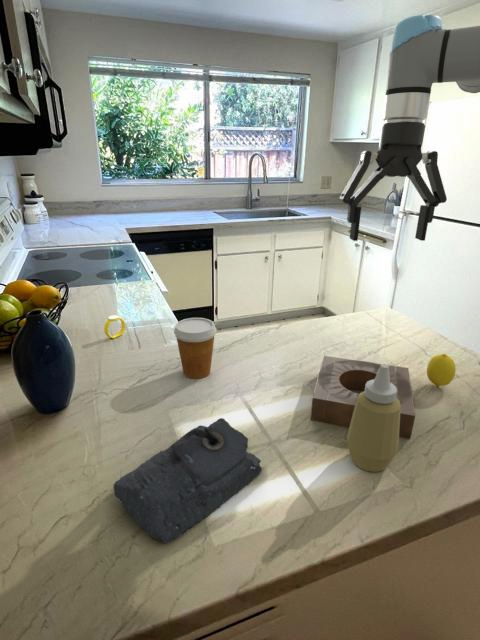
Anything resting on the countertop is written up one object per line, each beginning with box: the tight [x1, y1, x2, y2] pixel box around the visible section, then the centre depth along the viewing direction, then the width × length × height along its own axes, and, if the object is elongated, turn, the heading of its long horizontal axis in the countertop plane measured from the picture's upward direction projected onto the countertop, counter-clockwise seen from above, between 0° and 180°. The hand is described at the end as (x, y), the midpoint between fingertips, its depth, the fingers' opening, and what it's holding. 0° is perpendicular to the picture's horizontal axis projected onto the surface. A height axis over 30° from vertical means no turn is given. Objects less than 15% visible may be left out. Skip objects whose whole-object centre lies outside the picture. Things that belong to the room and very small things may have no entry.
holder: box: [310, 355, 416, 440], centre depth 82 cm, size 18×18×5 cm
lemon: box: [426, 353, 457, 387], centre depth 88 cm, size 6×6×8 cm
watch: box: [103, 314, 126, 340], centre depth 110 cm, size 6×3×6 cm, turn 144°
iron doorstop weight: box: [113, 417, 263, 544], centre depth 62 cm, size 15×22×5 cm
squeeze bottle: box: [346, 363, 401, 473], centre depth 64 cm, size 8×8×18 cm
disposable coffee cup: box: [173, 317, 217, 380], centre depth 92 cm, size 10×10×12 cm
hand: (386, 239), depth 81 cm, fingers open, 13 cm apart
